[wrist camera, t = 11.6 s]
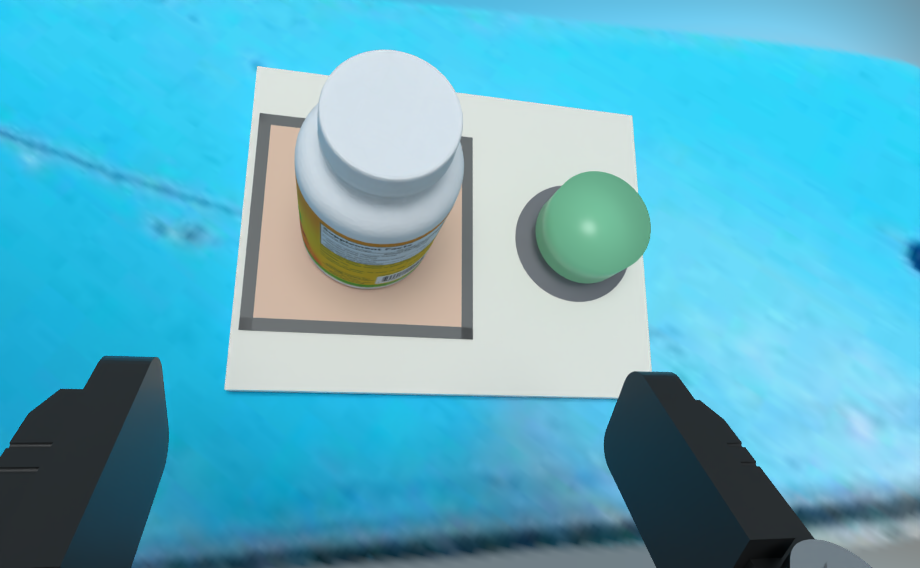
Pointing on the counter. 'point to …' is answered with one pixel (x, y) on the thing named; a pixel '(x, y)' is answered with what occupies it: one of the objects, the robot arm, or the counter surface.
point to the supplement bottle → (378, 167)
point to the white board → (438, 270)
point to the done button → (593, 227)
